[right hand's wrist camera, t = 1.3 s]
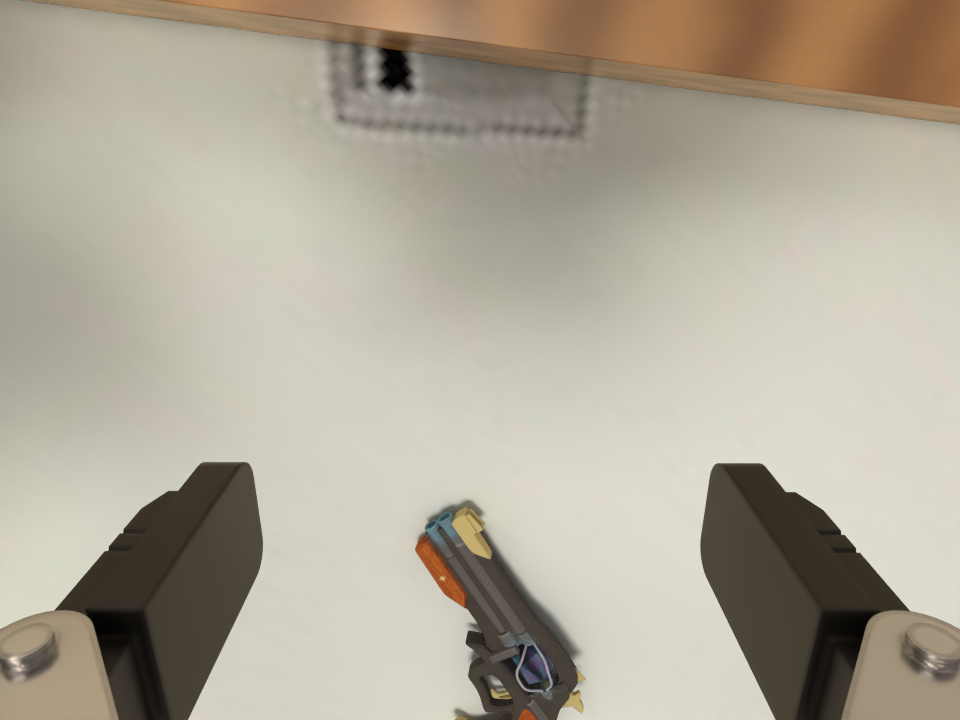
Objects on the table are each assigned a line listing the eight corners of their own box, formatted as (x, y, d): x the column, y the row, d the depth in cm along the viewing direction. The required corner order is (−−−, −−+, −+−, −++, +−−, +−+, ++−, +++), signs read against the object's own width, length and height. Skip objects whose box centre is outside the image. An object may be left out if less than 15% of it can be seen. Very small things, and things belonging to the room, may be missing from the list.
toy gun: (489, 795, 43) (626, 753, 40) (324, 582, 38) (466, 518, 35) (494, 757, 45) (623, 716, 42) (339, 553, 41) (473, 491, 38)
